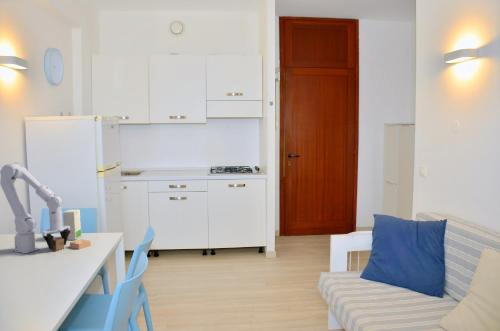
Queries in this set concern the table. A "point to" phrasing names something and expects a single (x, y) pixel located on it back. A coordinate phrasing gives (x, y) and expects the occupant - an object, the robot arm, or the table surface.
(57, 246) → the walnut block
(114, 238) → the table surface
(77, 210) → the skincare box
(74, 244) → the terracotta block
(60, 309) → the table surface
